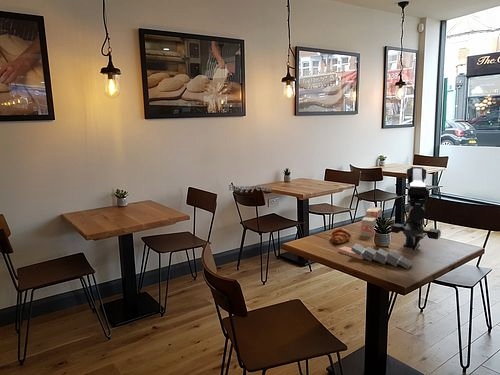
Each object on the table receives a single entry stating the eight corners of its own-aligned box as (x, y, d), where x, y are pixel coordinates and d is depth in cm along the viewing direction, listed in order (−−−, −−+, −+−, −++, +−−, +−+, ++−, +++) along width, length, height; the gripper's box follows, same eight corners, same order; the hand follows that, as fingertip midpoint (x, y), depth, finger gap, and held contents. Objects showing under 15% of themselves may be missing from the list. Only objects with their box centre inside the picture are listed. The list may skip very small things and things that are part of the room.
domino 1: (369, 257, 179) (345, 249, 190) (369, 253, 179) (345, 246, 190) (362, 260, 176) (338, 251, 187) (362, 256, 176) (338, 248, 187)
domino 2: (374, 257, 177) (355, 246, 182) (376, 253, 177) (356, 243, 181) (370, 261, 173) (350, 250, 178) (372, 258, 173) (352, 247, 177)
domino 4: (399, 263, 171) (378, 251, 176) (400, 259, 170) (380, 248, 175) (395, 266, 167) (374, 254, 172) (397, 263, 166) (376, 251, 171)
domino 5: (411, 265, 168) (389, 253, 173) (413, 262, 168) (391, 250, 172) (408, 269, 164) (386, 257, 169) (409, 266, 163) (388, 253, 168)
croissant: (339, 239, 217) (333, 226, 217) (356, 233, 213) (349, 219, 213) (331, 250, 198) (324, 236, 198) (348, 243, 194) (341, 229, 194)
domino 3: (387, 260, 174) (366, 249, 178) (388, 257, 173) (368, 246, 178) (384, 264, 170) (363, 253, 174) (386, 261, 169) (365, 249, 173)
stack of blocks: (372, 237, 208) (373, 215, 206) (360, 236, 211) (361, 214, 209) (381, 227, 226) (381, 207, 224) (370, 226, 229) (371, 206, 227)
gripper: (387, 216, 160) (385, 251, 163) (436, 222, 149) (433, 260, 152) (395, 210, 169) (394, 244, 172) (442, 216, 158) (439, 252, 161)
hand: (414, 250), depth 164 cm, fingers closed
